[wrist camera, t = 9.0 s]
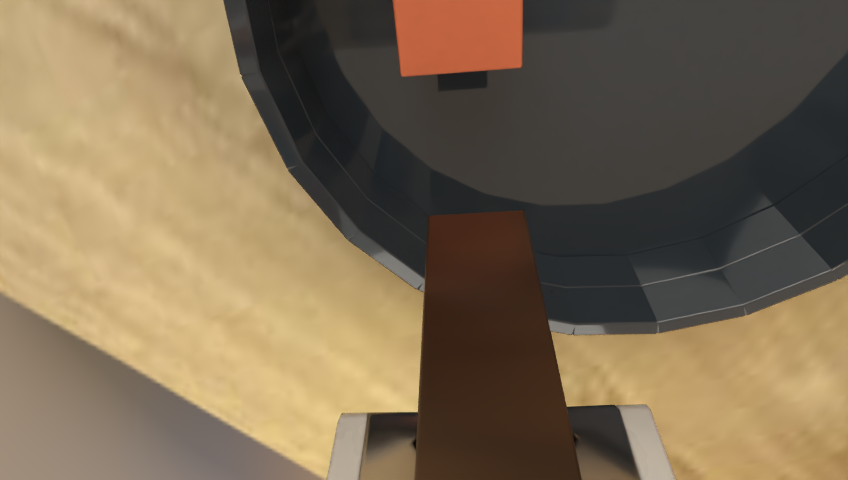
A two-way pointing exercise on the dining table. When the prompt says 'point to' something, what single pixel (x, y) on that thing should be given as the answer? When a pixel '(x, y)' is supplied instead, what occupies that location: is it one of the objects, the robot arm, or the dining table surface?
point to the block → (458, 35)
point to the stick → (488, 358)
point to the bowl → (581, 146)
